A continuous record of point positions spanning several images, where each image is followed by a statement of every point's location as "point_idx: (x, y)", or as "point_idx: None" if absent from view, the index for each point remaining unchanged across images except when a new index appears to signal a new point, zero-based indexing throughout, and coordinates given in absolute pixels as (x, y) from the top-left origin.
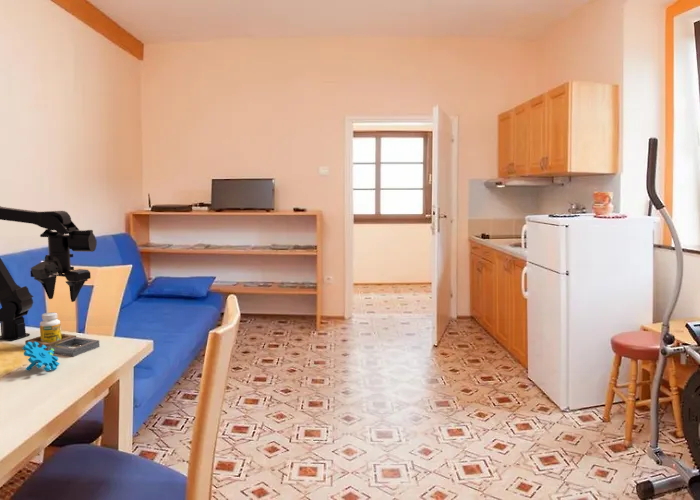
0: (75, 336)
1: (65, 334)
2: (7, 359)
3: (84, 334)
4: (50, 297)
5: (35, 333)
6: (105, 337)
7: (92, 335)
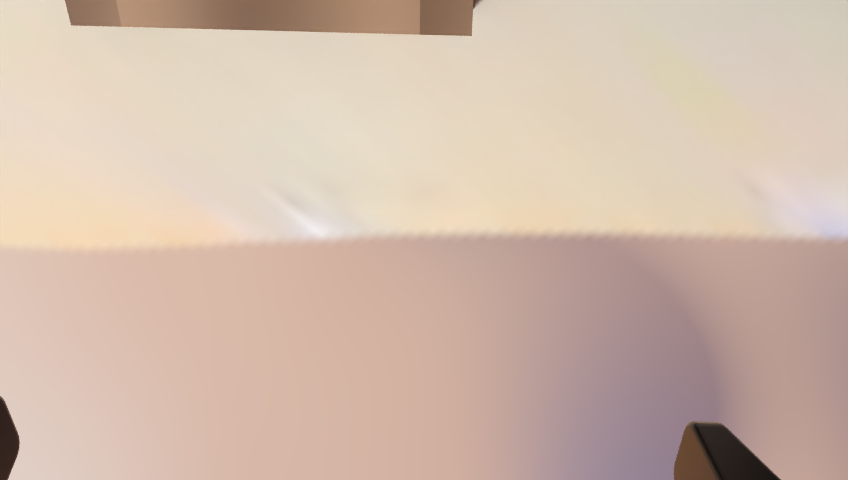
0: (70, 10)
1: (237, 16)
2: None
3: (286, 234)
4: (692, 460)
5: (833, 89)
6: (15, 226)
7: (185, 234)
